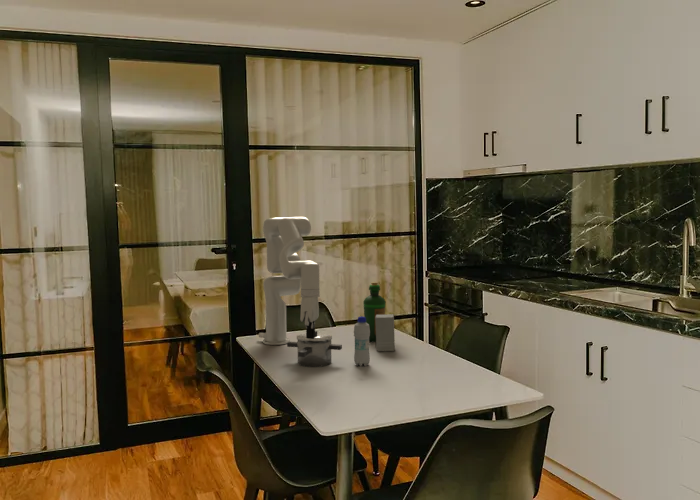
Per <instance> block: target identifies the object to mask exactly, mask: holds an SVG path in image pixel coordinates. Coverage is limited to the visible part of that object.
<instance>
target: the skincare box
mask: <svg viewBox="0 0 700 500" xmlns="http://www.w3.org/2000/svg"><path fill="white" fill-rule="evenodd" d="M375 321H376V342H375V346H376V349H375V350H376V352H395V346H396V345H395V344H396V343H395V341H396V340H395V339H396V338H395V316H394V314H385V315H376V317H375Z"/></svg>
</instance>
